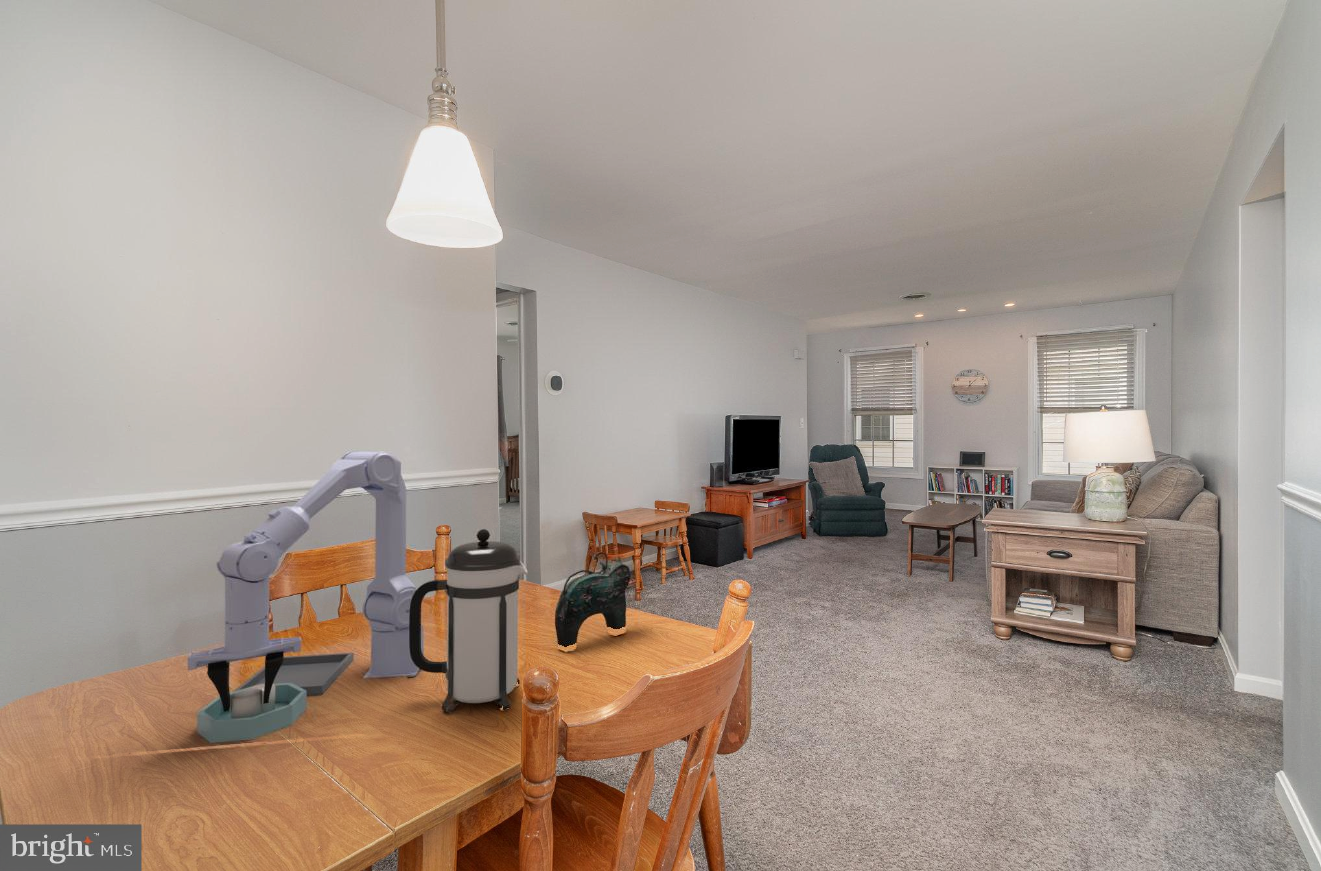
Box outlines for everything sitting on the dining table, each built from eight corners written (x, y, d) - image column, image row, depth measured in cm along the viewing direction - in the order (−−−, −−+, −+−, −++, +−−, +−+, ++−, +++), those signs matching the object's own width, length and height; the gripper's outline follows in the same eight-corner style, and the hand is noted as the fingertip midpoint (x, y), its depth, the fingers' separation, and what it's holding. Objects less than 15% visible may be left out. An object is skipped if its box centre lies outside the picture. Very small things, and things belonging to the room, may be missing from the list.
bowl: (315, 701, 102) (316, 681, 102) (280, 740, 89) (280, 717, 89) (230, 707, 100) (230, 686, 100) (180, 748, 86) (181, 724, 86)
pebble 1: (262, 711, 95) (262, 686, 95) (261, 721, 91) (261, 695, 91) (231, 717, 93) (232, 692, 93) (229, 728, 89) (230, 701, 89)
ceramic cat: (618, 628, 142) (618, 546, 142) (636, 634, 137) (636, 549, 138) (550, 649, 128) (550, 557, 128) (568, 657, 123) (568, 562, 123)
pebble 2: (277, 705, 99) (277, 681, 99) (272, 715, 96) (272, 690, 96) (248, 709, 97) (249, 685, 98) (243, 720, 94) (243, 695, 94)
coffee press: (496, 672, 115) (497, 520, 115) (541, 698, 103) (542, 529, 103) (407, 700, 102) (407, 529, 103) (447, 733, 91) (447, 541, 91)
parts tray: (353, 662, 120) (353, 652, 120) (322, 697, 104) (322, 685, 104) (276, 667, 117) (276, 657, 117) (232, 703, 101) (232, 691, 101)
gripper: (300, 605, 99) (300, 685, 99) (192, 619, 92) (191, 706, 91) (301, 616, 93) (301, 701, 93) (185, 632, 86) (185, 725, 85)
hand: (246, 705), depth 92 cm, fingers open, 4 cm apart
